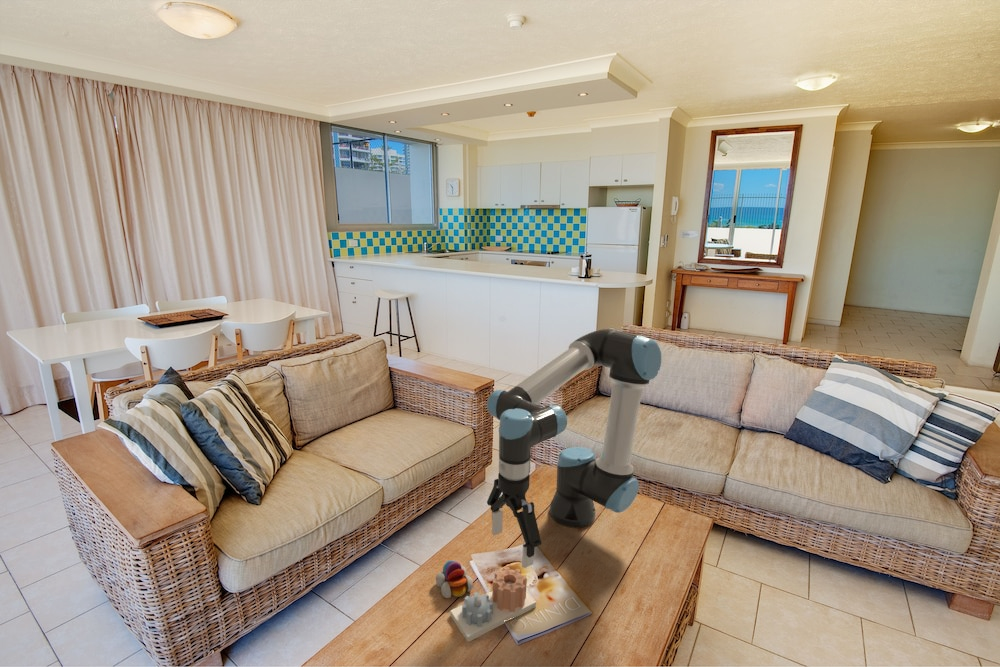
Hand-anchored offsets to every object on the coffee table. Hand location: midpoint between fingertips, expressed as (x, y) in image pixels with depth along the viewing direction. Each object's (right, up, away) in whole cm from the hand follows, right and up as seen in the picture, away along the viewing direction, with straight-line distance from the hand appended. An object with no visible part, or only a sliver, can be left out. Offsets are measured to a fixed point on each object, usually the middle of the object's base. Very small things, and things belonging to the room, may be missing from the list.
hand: (511, 548), depth 119 cm
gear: (-1, -15, +4) cm, 15 cm away
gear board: (-5, -17, +2) cm, 17 cm away
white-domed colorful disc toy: (-15, -15, +9) cm, 23 cm away
